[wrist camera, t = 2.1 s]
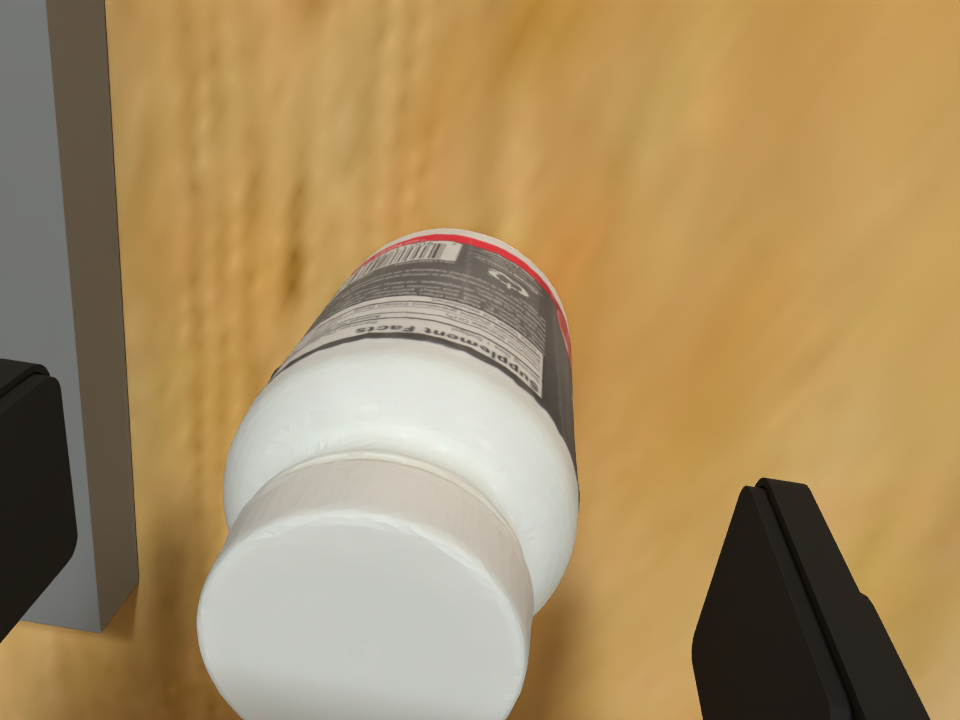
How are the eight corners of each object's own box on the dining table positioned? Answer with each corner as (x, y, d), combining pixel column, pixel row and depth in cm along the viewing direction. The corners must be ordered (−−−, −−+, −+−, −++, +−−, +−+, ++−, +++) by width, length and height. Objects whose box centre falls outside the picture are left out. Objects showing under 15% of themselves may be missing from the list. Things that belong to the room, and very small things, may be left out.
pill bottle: (532, 467, 19) (511, 859, 11) (317, 407, 19) (113, 753, 10) (605, 261, 17) (655, 537, 8) (362, 191, 17) (151, 397, 8)
